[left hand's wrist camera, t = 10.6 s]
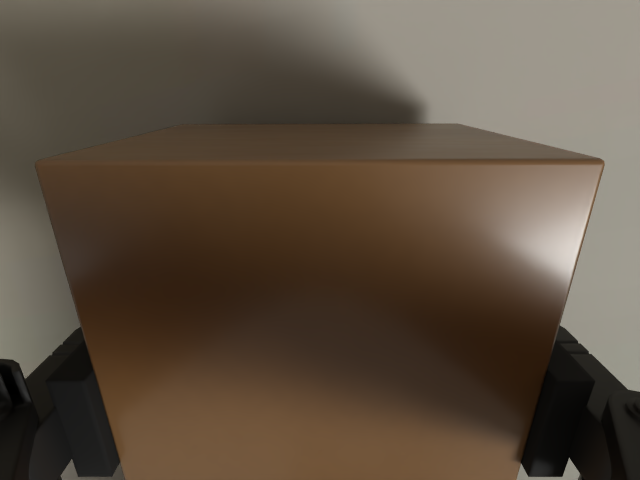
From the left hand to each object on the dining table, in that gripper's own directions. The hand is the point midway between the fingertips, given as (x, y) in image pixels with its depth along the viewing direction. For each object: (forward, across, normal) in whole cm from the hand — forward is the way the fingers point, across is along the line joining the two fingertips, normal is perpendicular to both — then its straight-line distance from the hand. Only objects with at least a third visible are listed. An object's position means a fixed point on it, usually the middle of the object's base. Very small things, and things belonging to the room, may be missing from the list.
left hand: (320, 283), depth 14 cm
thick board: (+1, 0, -20) cm, 20 cm away
